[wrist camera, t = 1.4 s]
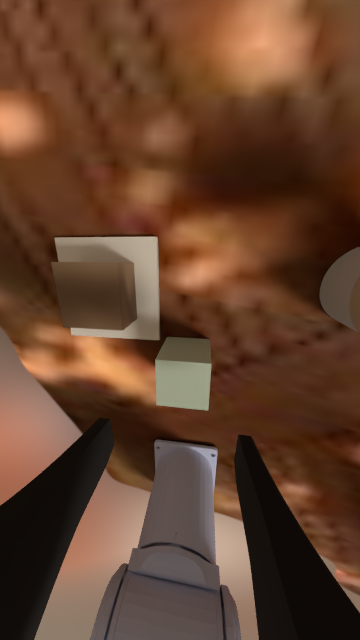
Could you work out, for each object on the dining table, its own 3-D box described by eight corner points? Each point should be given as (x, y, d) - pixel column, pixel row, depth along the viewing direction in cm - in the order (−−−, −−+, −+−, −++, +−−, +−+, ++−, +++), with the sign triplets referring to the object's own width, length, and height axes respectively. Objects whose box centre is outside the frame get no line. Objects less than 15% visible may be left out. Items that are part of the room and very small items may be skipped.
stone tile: (160, 338, 20) (159, 340, 19) (74, 333, 21) (71, 335, 20) (157, 237, 17) (156, 236, 16) (58, 238, 18) (54, 237, 17)
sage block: (207, 376, 20) (208, 410, 16) (167, 373, 21) (156, 405, 16) (209, 338, 19) (211, 363, 14) (167, 336, 20) (155, 359, 15)
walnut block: (137, 318, 19) (122, 330, 15) (87, 316, 19) (63, 327, 16) (133, 262, 17) (116, 262, 14) (79, 262, 18) (50, 261, 14)
